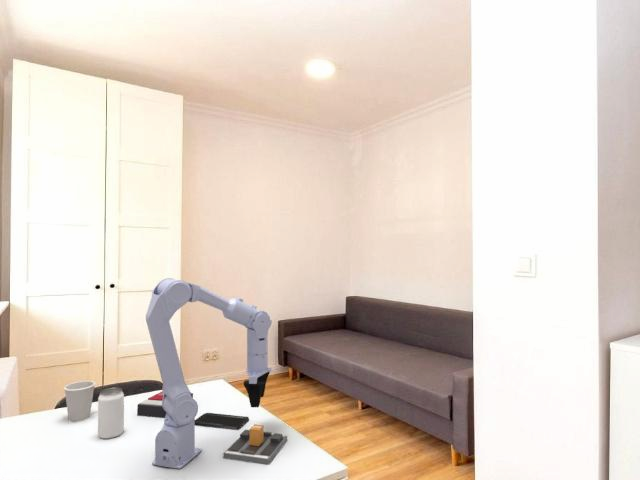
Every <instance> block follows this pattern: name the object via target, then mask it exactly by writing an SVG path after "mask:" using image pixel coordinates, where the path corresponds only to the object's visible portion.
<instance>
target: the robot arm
mask: <svg viewBox="0 0 640 480" xmlns="http://www.w3.org/2000/svg"><path fill="white" fill-rule="evenodd" d="M243 301H244V299H243V298H240V297H237V298H235V297H232V298H230V299H226V298H225V297H223V296H221V295H218V294H217V293H214V292H213V291H210V290H209V289H206V288H205V287H202V286H200V285H199V284H198V285H197V284H195V283H190V282H187V281H185V280H181V279H174V278H171V277H170V278H169V277H167V278H164V279H161V280H160V281H159V282H158V283H157V285H156V286H155V287H154V288H153V289H152V291H151V298H150V301H149V304H148V307H147V311H146V314H145V322H146V325H147V329H148V332H149V337H150V340H151V344H152V348H153V351H154V356H155V359H156V362H157V367H158V370H159V374H160V378H161V381H162V389H161V390H162V391H163V400H162V407H163V409H164V410H165V411H166V416H165V418H163V419H164V420H163V422H164V423H163V425H162V428H161V430H160V431H158V432H157V434H156V436H155V439H154V442H155V443H154V445H155V446H154V449H155V450H154V460H153V461H152V462H151V465H153V466H159V467H167V468H171V469H182V468H183V467H185V466H186V465H187V464H188V463H189V462H190V461H191V460H193V459H194V458H195V457H196V456H198V454H200V453H201V452H202V449H203V448H202V447H201V448H200V447H196V446H195V443H196V442H195V441H196V439H195V437H196V436H195V435H196V434H195V433H196V432H195V431H196V430H195V429H196V427H195V426H196V425H195V420H196V416H197V414H198V412H199V405H198V402H197V401H196V399H194V397H193V398H192V396H191V394H190V392H191V390H190V389H189V386H188V385H187V383H186V381H185V376H184V373H183V369H182V365H181V361H180V358H179V354H178V349H177V347H176V343H175V340H174V339H175V338H174V335H173V331H172V327H171V323H170V320H171V319H172V318H173V316H174V315H175V314H176V312H177V311H179V310H180V309H181V308H182V307H183V306H185V305H187V303H188V302H189V303H196V302H199V303H200V302H201V303H203V304H205V305H207V306H210V307H213V308H214V309H217V310H219V311H221V312H222V315H223V318H225V319H228V320H230V321H232V322H234V323H237V324H238V325H241V326H243V327H244V328H246V374H247V376H248V380H247V379H245V380H244V381H243V387H244V388H245V390H246V392H247V396H248V398H249V399H248V400H249V405H250V407H251V408H260V404H261V398H263V397H264V395H265V392H266V391H265V390H266V384H267V380H268V377H269V375H270V373H271V372H272V371H273V368H272V367H269V366H268V363H269V362H268V357H269V355H268V341H269V340H268V338H269V337H268V336H269V329H270V328H271V326H272V322H273V321H272V319H271V317H270V315H269V314H268V312H266V311H264V310H261V309H257V308H258V307H257V306H256V305H253V304H252V305H250V304H248V303H246V302H243ZM162 391H161V392H162Z"/></svg>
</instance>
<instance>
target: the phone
mask: <svg viewBox="0 0 640 480" xmlns="http://www.w3.org/2000/svg"><path fill="white" fill-rule="evenodd" d="M249 421H250V419H249V416H242V415H241V416H240V415H232V414H223V413H214V412H213V413H212V412H206V413H203V414H202V415H200V416H198V417H197V418H195V426H198V427H206V428H214V429H215V428H216V429H223V430H231V431H239V430H241V429H242V428H243V427H244V426H245V425H246V424H247V423H248V422H249Z"/></svg>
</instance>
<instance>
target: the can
mask: <svg viewBox="0 0 640 480" xmlns="http://www.w3.org/2000/svg"><path fill="white" fill-rule="evenodd" d="M124 426H125V393H124V391H123V388H121V387H110V388H106V389H102V390H101V391H100V392H99V396H98V398H97V436H98V437H99V438H100V439H103V440H110V439H114V438H117V437H120V436H121V435H122V434H123V433H124V431H125V430H124V428H125V427H124Z"/></svg>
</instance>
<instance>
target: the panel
mask: <svg viewBox="0 0 640 480" xmlns="http://www.w3.org/2000/svg"><path fill="white" fill-rule="evenodd" d="M287 441H288V435H286V434H282V433H277V432H276V433H275V432H274V433H273V432H271V431H264V441H263V442H262V443H261V444H260V446H254V445H250V429H244V430H243V431H242V432H241V433H240V435H239V437H238V438H237V439H236V440H235V441H234V442H233V443H232V444H231V445H230V446H229V447H228V448H227V449H226V450H225V451H224V452H223V453H222V454H223V455H222V458H223V459H228V460H234V461H240V462H241V461H242V462H250V463H256V464H261V465H262V464H263V465H270V464H271V462H272V461H273V459H274V458H275V457H276V455H277V454H278V453H279V452H280V450H281V449H282V448H283V446H285V444H286V442H287Z"/></svg>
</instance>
